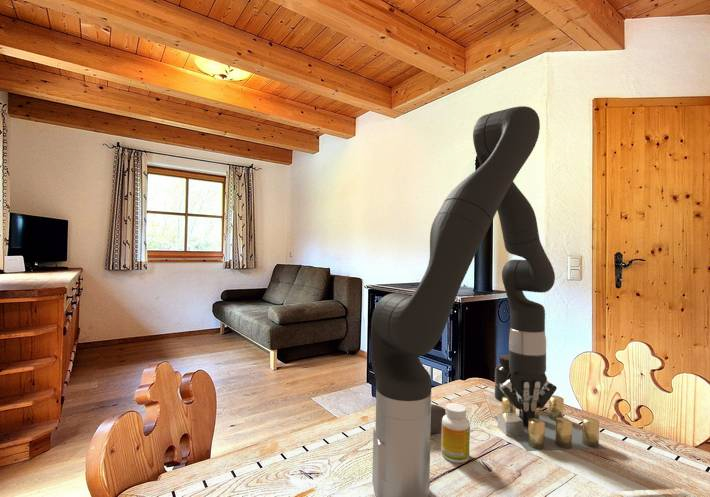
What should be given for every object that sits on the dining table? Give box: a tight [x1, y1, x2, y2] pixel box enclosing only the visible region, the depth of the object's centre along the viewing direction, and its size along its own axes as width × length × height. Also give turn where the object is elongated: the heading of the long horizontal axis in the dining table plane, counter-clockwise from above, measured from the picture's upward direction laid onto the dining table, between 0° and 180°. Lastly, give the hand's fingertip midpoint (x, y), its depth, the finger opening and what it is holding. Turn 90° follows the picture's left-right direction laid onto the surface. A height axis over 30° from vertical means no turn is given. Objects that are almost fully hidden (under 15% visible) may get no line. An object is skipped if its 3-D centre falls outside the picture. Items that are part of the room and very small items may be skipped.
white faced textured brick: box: [496, 413, 524, 437], centre depth 82 cm, size 4×4×3 cm
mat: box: [492, 414, 607, 452], centre depth 82 cm, size 23×15×1 cm, turn 95°
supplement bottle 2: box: [494, 354, 518, 403], centre depth 99 cm, size 7×7×12 cm
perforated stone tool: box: [430, 403, 446, 435], centre depth 81 cm, size 15×5×7 cm, turn 98°
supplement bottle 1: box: [440, 402, 471, 464], centre depth 73 cm, size 5×5×10 cm
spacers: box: [501, 394, 600, 449], centre depth 82 cm, size 15×14×5 cm
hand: (527, 425), depth 82 cm, fingers closed
